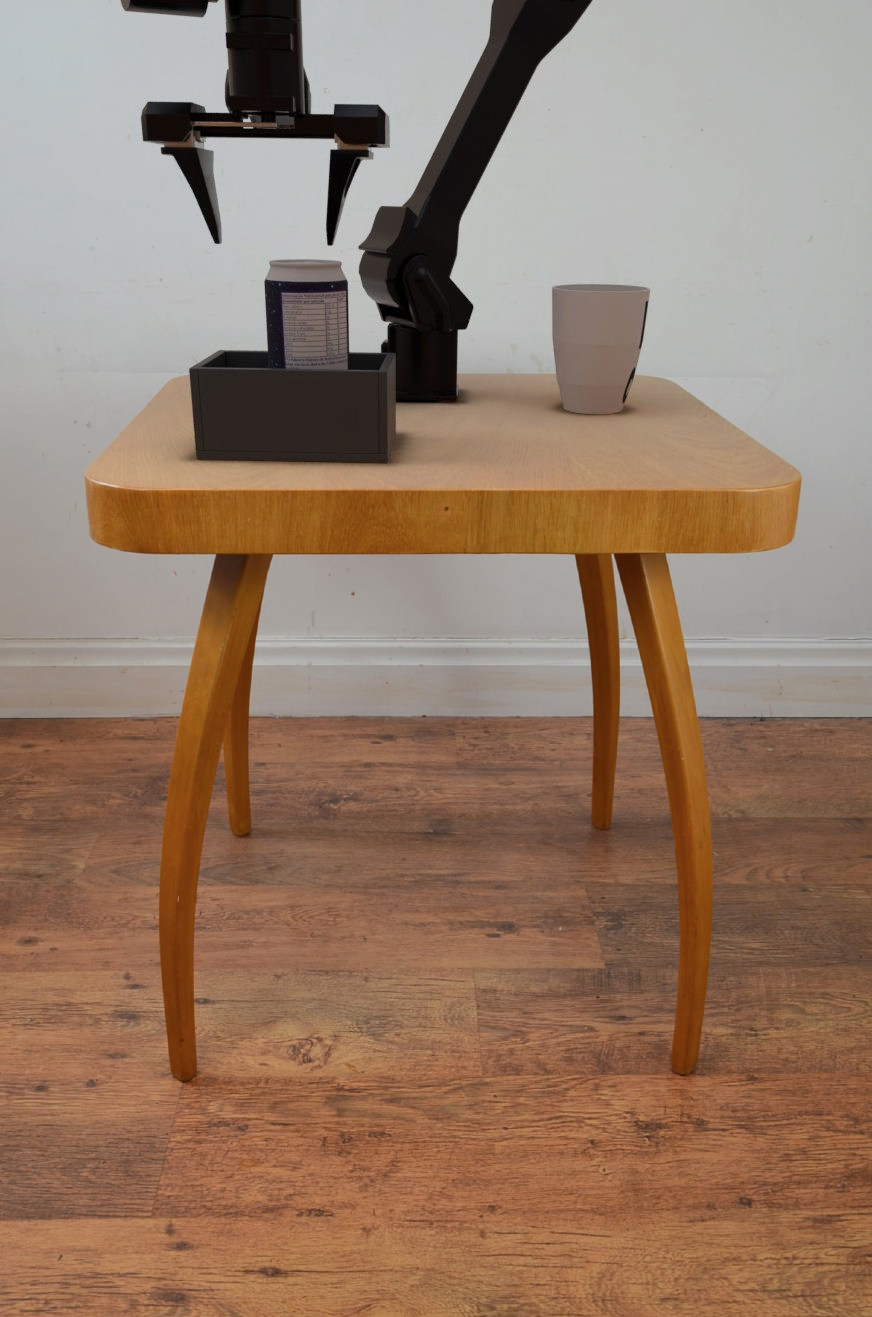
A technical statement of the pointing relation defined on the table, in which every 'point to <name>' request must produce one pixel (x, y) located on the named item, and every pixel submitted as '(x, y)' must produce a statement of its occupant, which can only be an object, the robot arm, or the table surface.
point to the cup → (597, 343)
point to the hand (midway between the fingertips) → (274, 244)
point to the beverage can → (307, 315)
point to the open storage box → (293, 409)
